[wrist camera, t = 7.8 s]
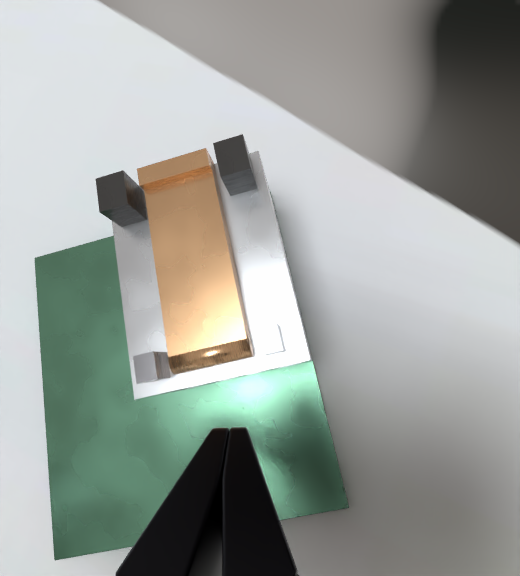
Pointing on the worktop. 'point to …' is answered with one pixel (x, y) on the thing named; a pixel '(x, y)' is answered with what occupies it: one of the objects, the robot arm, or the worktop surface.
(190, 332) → the tan flat bar
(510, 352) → the worktop surface
